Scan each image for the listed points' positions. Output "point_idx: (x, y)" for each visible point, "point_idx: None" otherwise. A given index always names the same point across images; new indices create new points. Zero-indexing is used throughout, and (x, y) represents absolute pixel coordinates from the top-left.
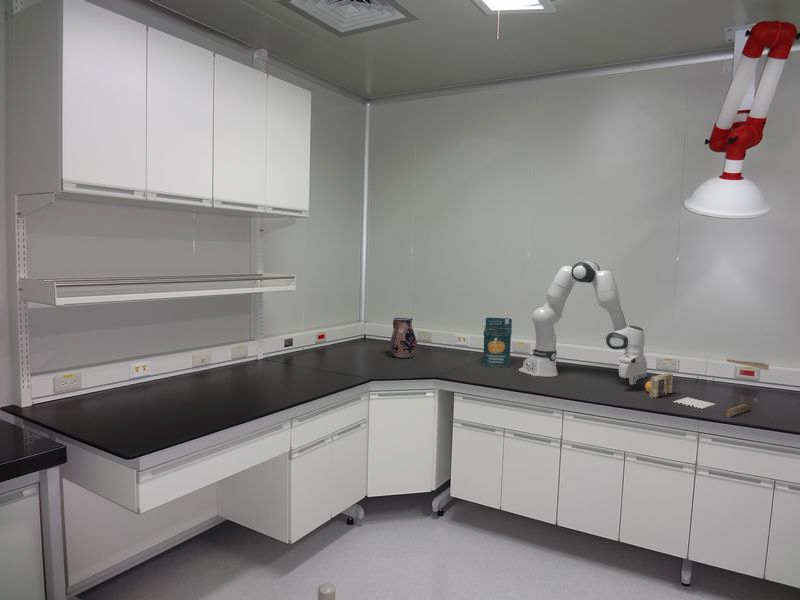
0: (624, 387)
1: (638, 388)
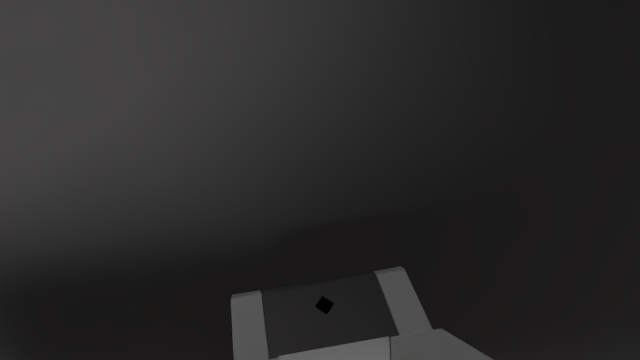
0: (178, 104)
1: (417, 285)
